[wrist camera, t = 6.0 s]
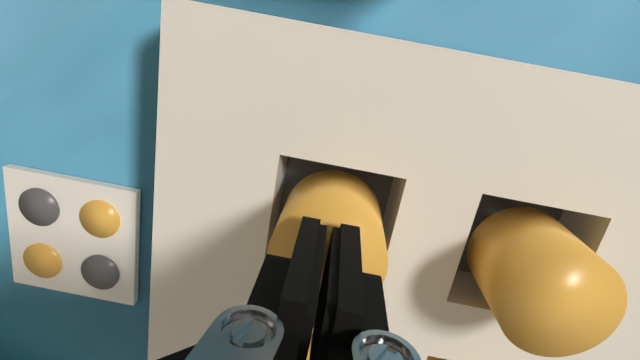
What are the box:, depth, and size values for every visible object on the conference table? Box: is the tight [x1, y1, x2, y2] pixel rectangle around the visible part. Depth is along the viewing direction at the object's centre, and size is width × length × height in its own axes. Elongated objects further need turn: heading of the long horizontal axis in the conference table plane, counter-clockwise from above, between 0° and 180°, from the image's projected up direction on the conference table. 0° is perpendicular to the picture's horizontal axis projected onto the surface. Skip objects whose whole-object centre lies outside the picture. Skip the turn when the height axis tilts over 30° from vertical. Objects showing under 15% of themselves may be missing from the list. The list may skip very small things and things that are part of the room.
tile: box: [3, 164, 141, 306], centre depth 18 cm, size 6×6×1 cm
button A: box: [466, 207, 628, 357], centre depth 13 cm, size 4×4×3 cm
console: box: [147, 0, 640, 360], centre depth 17 cm, size 20×20×3 cm
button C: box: [267, 170, 388, 291], centre depth 13 cm, size 4×4×3 cm
